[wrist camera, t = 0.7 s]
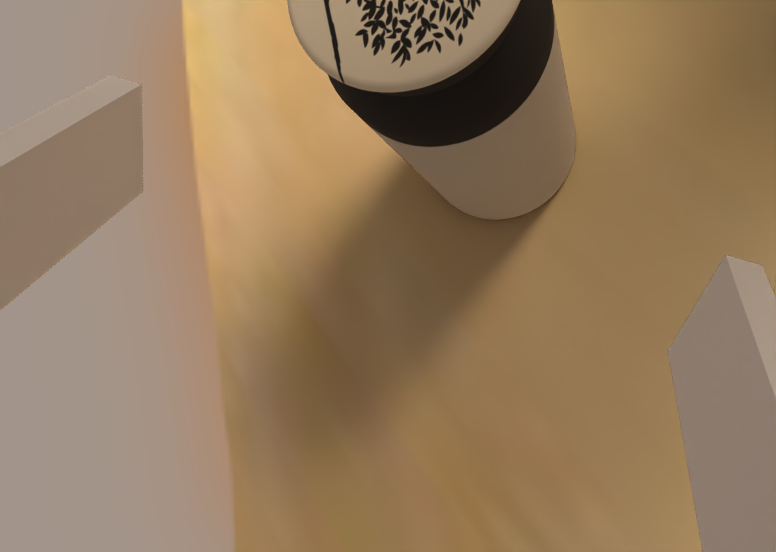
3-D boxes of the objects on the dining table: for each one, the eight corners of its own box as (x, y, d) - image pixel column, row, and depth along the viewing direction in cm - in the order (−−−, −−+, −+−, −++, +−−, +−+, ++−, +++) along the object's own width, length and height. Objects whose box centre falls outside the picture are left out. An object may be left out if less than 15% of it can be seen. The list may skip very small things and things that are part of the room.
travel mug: (568, 64, 36) (526, -200, 19) (583, 210, 35) (552, 66, 18) (424, 92, 38) (273, -121, 22) (434, 229, 37) (281, 118, 20)
